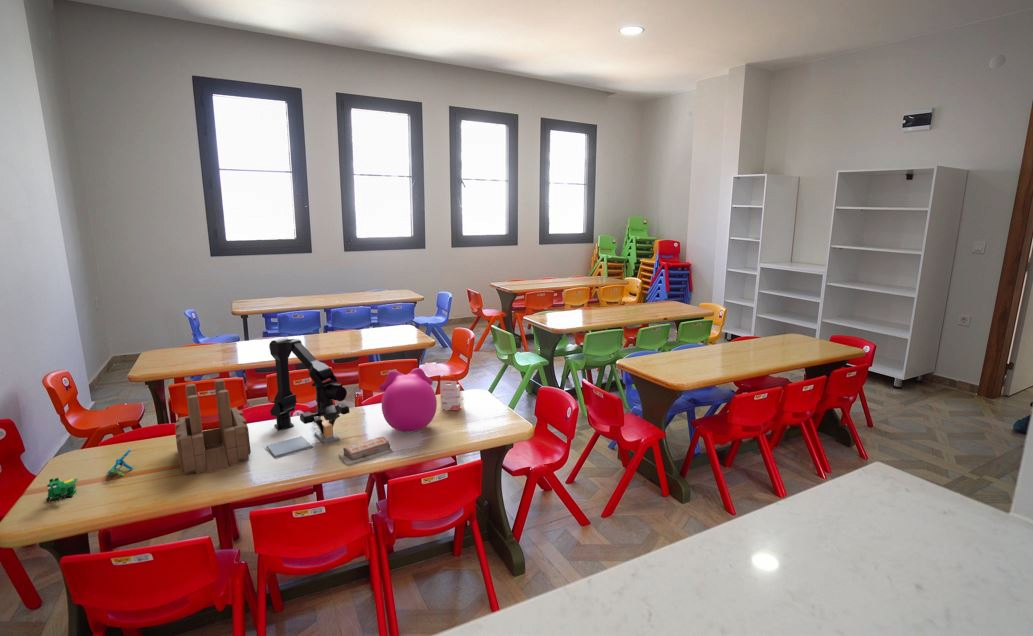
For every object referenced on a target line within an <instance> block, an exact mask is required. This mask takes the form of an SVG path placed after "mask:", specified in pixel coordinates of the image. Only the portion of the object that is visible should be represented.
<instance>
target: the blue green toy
mask: <svg viewBox="0 0 1033 636" xmlns="http://www.w3.org/2000/svg"><path fill="white" fill-rule="evenodd" d="M131 452H132V449H131V448H130V449H128V450H127V451H126V452H125V453H124V454H123V455H122V456H121V457H120V458H117V459H116V460H115V464H114V465H113V466H112V467H111V468H110V469H109V470H108V471H107V472H106V474H108V475H110V474H111V473H113V474H118V475H120V476H122V477H123V476H125V474H124V473H123V472H121V471H120V469H122V467H124V468H126V469H127V470H130V471H132V470H133V469H134V467H133V466H131V465H129V464H127V462H126V461H124V459H125V458H126V457H127V456H128V455H129V454H130V453H131ZM118 466H119V467H118ZM117 467H118V468H117Z"/></svg>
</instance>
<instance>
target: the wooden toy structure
mask: <svg viewBox="0 0 1033 636" xmlns="http://www.w3.org/2000/svg"><path fill="white" fill-rule="evenodd" d="M184 387H185V396H186V397H185V398H186V402H187V410H188V416H183V417H178V418H177V419H178V420H177V422H175V423H174V429H175V439H176V448H177V449H176V450H177V456H178V462H179V468H180V469H179V470H181V471H182V472H184V475H185V476H186V475H190V474H193V473H196V474H200V473H205V472H207V473H208V474H209V473H212V472H216V471H220V470H224V469H225V470H226V469H230V466H233V465H238V464H240V463H239V462H244V461H248V460H249V455H250V454H251V453H252V452H251V451H252V449H251V441H250V433H249V427H248V425H247V418H244V412H243V411H242V410H239V409H238V407H237V406H236V407H231V402H230V401H231V400H230V393H229V390H228V389H226V385H225V379H223V378H222V379H215V380H214V390H215V398H216V407H217V414H218V421H219V427H217V428H213V429H208V430H203V425H202V416H201V409H200V402H199V396H198V394H197V386H196V384H195V383H189V384H186V385H185V386H184ZM216 445H222V446H220V447H214V448H211V449H210V448H209V449H207V450H206V447H207V448H208V447H211V446H216Z"/></svg>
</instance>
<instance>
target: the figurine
mask: <svg viewBox="0 0 1033 636" xmlns="http://www.w3.org/2000/svg"><path fill="white" fill-rule="evenodd" d="M433 382H434V381H433V379H431V378H429V377H428V376H427V375H426V373H425V371H424V370H423V369H422V368H420V367H417V368H413V369H412V370H411V371H410V372H409V373H407V374H404V373H402V372H400V371H398V370H391V371H389V372H388V373H387V375H386V377H385V381H384V382H383V383H382V384H380V385H379V387H378V389H379V391H380V392H384V393H383V395H382V398H381V411H382V415H383V418H384V420H385V422H386V423H387V424H388V425H389V426H390V427H391V428H392V429H394V430H396V431H399V432H402V433H412V432H413V433H414V432H417V431H421V430H423V429H425V428H427V426H428V425H429V424H430V423H431V422H432V421H433V419H434V417H435V415H436V413H437V405H438V403H437V401H438V400H437V395H436V392H435V389H434V388H433V387H432V385H433Z"/></svg>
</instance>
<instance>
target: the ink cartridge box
mask: <svg viewBox="0 0 1033 636" xmlns="http://www.w3.org/2000/svg"><path fill="white" fill-rule="evenodd" d="M439 385H440V386H439V389H440V390H439V391H440V410H441V409H447V410H458V411H459V410H460V409H461V408H460V407H461V405H462V404H461V385H460V384H458V381H456V380H440V384H439ZM447 410H446V411H447Z"/></svg>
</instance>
